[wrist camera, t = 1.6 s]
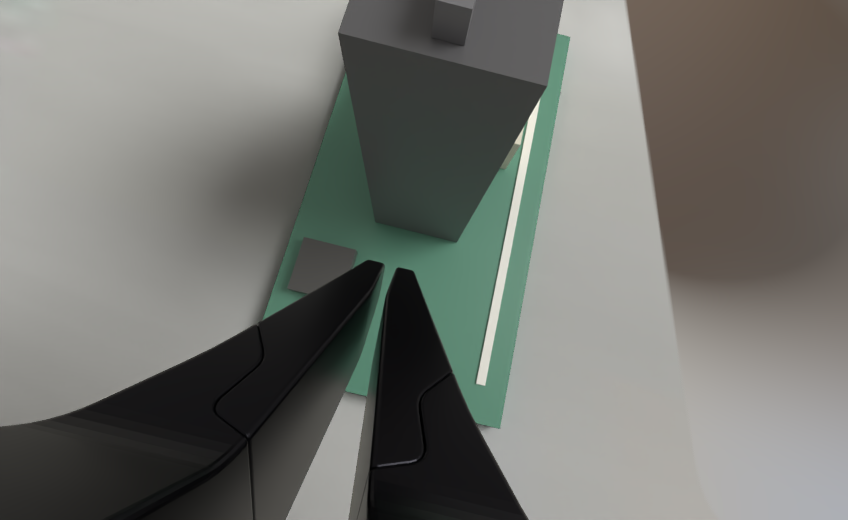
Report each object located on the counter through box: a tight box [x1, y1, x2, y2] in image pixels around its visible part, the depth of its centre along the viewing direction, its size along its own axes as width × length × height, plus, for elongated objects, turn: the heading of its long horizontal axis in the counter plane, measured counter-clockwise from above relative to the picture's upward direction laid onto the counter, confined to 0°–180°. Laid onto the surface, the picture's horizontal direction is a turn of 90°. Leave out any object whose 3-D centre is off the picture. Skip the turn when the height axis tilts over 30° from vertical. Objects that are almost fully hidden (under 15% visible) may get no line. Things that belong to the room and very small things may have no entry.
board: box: [263, 34, 570, 429], centre depth 21 cm, size 26×14×6 cm, turn 166°
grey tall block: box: [338, 0, 564, 242], centre depth 16 cm, size 8×5×15 cm, turn 166°
